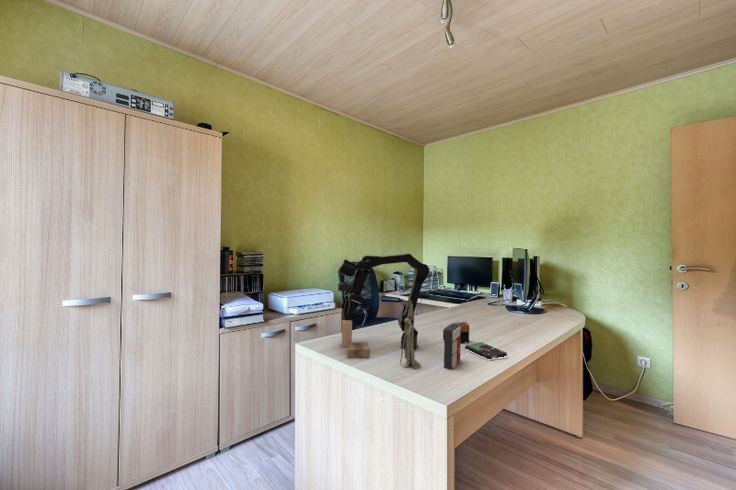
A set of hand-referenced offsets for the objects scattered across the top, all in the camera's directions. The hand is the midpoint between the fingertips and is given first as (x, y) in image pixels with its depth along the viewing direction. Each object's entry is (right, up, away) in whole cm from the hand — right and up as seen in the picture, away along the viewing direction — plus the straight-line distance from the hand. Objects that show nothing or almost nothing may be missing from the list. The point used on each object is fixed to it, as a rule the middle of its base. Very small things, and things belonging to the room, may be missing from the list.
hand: (346, 313), depth 137 cm
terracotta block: (0, -16, +6) cm, 17 cm away
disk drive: (+62, -18, -1) cm, 64 cm away
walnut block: (+5, -16, -6) cm, 18 cm away
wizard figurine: (+26, -17, -16) cm, 35 cm away
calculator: (+43, -17, -15) cm, 49 cm away
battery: (+55, -17, +14) cm, 60 cm away
